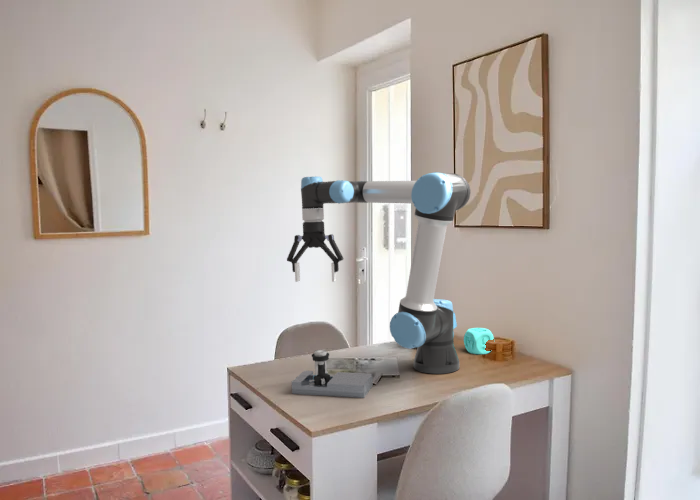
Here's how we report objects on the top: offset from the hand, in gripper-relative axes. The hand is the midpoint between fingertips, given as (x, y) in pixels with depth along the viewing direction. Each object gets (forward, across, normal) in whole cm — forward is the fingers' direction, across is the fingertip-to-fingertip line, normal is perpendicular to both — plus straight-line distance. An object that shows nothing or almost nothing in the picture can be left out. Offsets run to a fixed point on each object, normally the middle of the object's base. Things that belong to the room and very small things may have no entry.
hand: (315, 281), depth 197 cm
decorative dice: (+29, -55, -20) cm, 65 cm away
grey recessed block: (+29, -14, +29) cm, 43 cm away
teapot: (+29, -38, -25) cm, 54 cm away
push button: (+27, -10, +29) cm, 41 cm away
